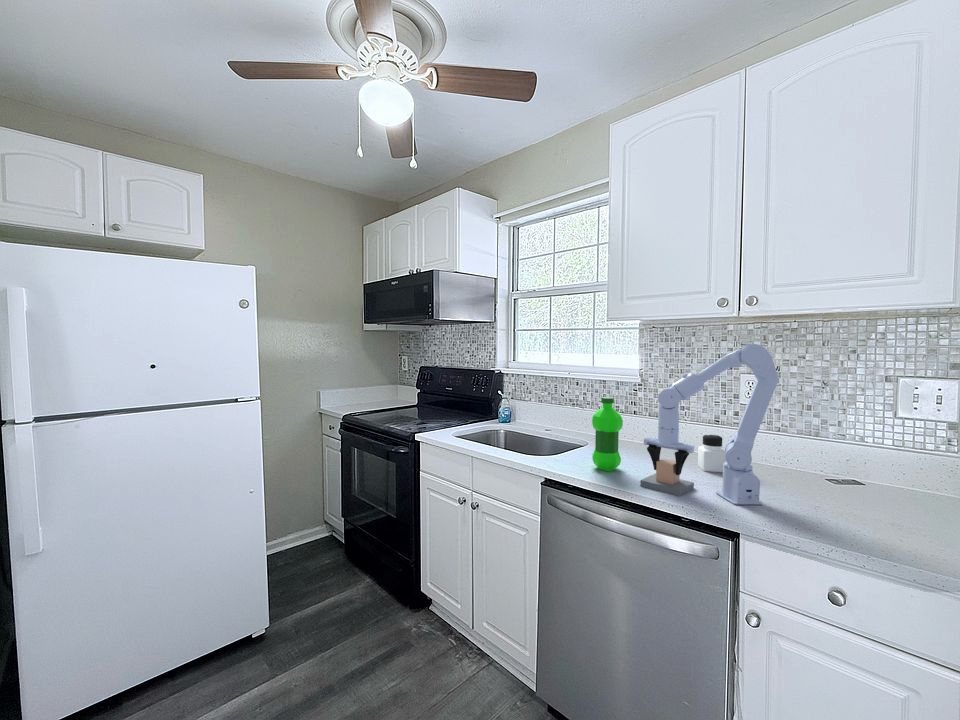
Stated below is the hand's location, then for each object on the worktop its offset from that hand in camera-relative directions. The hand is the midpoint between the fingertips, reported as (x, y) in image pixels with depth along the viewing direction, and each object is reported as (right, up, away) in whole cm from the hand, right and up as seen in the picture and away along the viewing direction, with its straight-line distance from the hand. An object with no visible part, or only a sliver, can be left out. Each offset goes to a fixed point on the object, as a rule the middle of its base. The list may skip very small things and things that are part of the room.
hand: (667, 471), depth 132 cm
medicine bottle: (+24, -4, +19) cm, 31 cm away
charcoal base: (0, -5, 0) cm, 5 cm away
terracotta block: (0, -3, 0) cm, 3 cm away
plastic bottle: (-13, -4, +19) cm, 24 cm away
